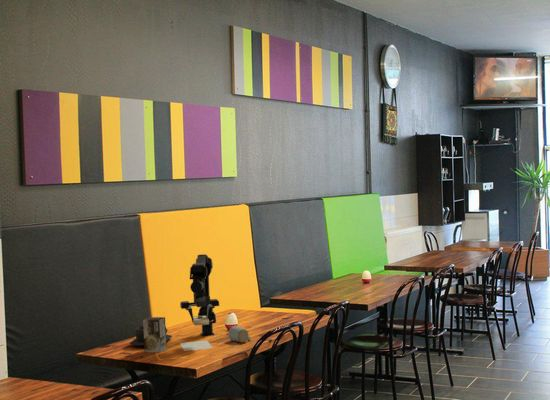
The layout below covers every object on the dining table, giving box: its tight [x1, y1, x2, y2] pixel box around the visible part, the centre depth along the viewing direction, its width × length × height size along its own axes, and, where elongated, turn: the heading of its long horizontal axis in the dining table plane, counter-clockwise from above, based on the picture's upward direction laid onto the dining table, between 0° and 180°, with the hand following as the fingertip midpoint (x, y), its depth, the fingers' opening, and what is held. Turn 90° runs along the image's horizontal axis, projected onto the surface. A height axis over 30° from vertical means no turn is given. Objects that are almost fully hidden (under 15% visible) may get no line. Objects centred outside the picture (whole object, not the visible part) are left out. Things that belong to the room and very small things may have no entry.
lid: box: [192, 315, 209, 326], centre depth 365 cm, size 11×7×3 cm, turn 14°
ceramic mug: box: [228, 325, 252, 344], centre depth 373 cm, size 11×8×8 cm
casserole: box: [129, 325, 173, 347], centre depth 375 cm, size 25×19×8 cm
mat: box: [179, 340, 214, 352], centre depth 365 cm, size 18×14×1 cm
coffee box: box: [142, 316, 168, 353], centre depth 358 cm, size 9×6×16 cm
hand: (200, 321), depth 365 cm, fingers closed on lid, 7 cm apart
